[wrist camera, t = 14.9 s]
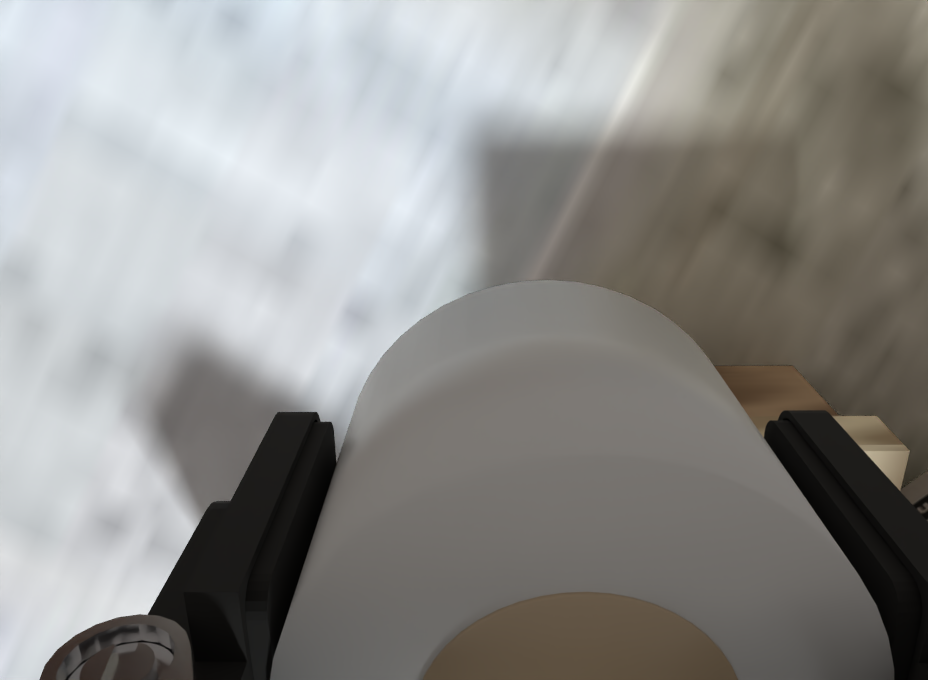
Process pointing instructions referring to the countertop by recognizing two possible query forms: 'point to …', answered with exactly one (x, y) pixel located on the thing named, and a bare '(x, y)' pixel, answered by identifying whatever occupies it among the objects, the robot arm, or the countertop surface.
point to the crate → (771, 390)
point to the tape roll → (567, 514)
